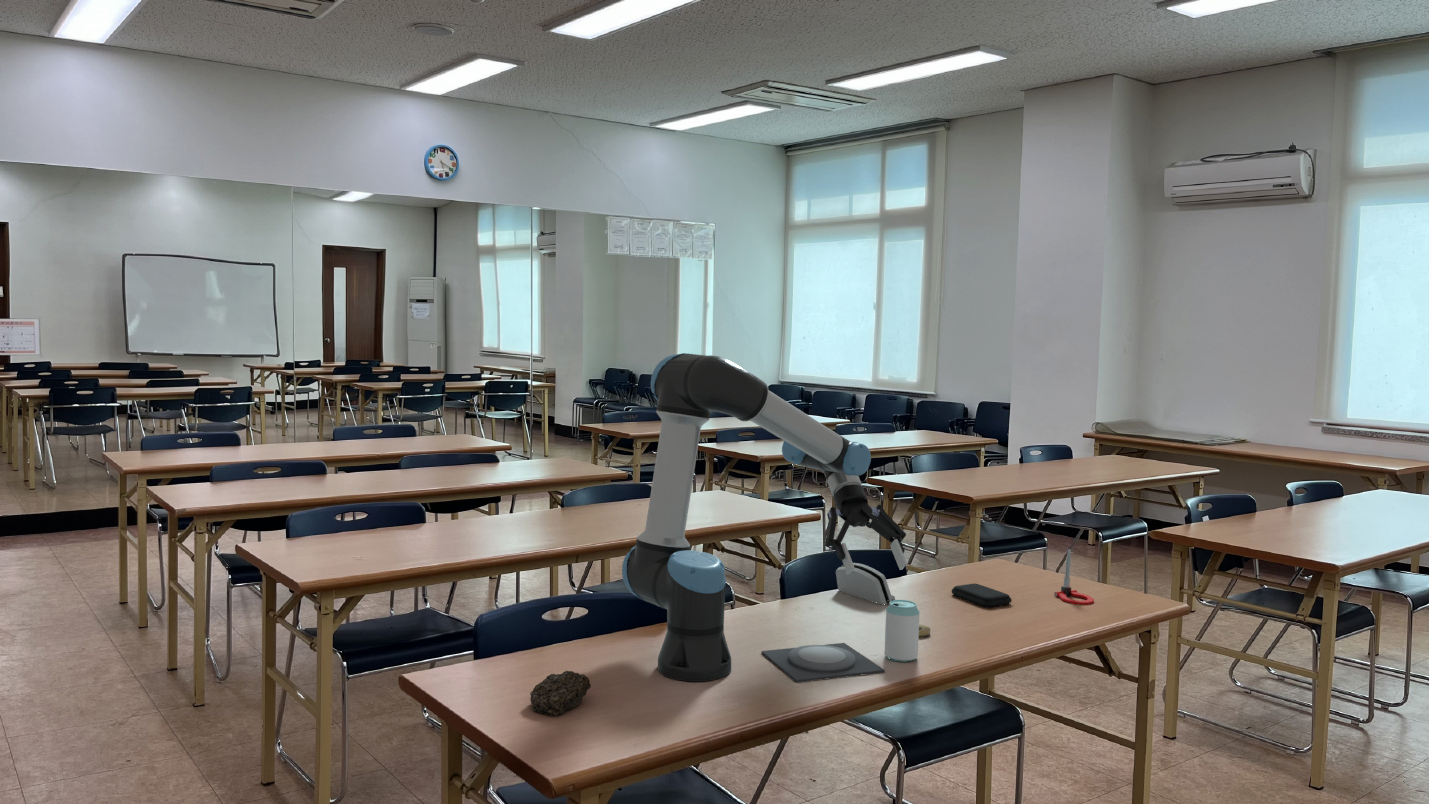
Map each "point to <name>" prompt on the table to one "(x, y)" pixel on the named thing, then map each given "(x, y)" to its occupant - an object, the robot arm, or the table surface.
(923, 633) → the small brass flange
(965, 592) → the carrying case or bag
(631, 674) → the table surface
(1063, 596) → the tow hook
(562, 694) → the concrete sample
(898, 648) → the can
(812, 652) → the flange station
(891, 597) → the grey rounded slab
